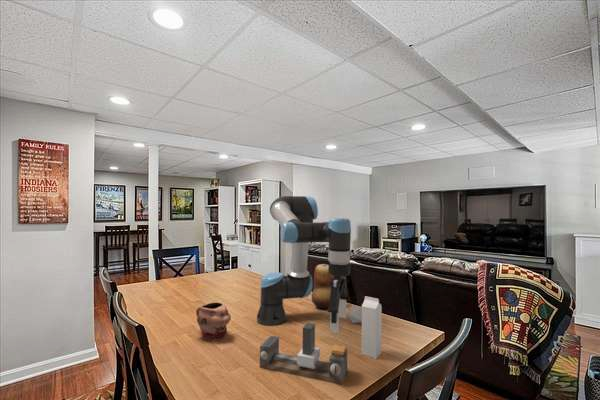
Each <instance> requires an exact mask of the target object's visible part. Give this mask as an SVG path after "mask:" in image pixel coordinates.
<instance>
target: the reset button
mask: <svg viewBox="0 0 600 400" xmlns="http://www.w3.org/2000/svg"><path fill="white" fill-rule="evenodd" d="M345 350H346V346H345V345H338V344H333V347H332V349H331V354H332V353H334V355H336V356H342V357H343V355H344V352H345Z"/></svg>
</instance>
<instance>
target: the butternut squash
mask: <svg viewBox="0 0 600 400" xmlns="http://www.w3.org/2000/svg"><path fill="white" fill-rule="evenodd" d="M314 269H315V270H314V274H313V289H312V291H311V294H310V295H311V296H310V297H311V301H312V304H313V305H314V306H315V307H316V308H319V309H328V308H329V303H330V294H331V281H332V280H334V275H331V274H329V272H328V264H325V263H322V264H317V265H316V266H315V268H314Z"/></svg>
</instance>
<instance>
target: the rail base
mask: <svg viewBox="0 0 600 400" xmlns="http://www.w3.org/2000/svg"><path fill="white" fill-rule="evenodd" d="M279 345H280V337H279V336H274V335H269V337H268V338H267V339H265V340H264V342H262V344H261V345H259V368H262V369H267V370H272V371H277V372H282V373H286V374H290V375H291V374H292V375H296V376H300V377H305V378H310V379H315V380H319V381H325V382H328V383H332V384H333V383H334V384H338V383H339V384H338V385H342V384H344V382H345V379H346V376H347V372H348V348H346V350H345V352H344V355H343V357H342V356H336V355H334V353H332V352H331V354H330V357H328V358H329V360H328V361H329V362H328V361H324V360H319V361H317V362H316V368H315V369H311V368H306V367H301V366H298V364H297V355H292V354H288V353H287V354H286V353H280V347H279Z"/></svg>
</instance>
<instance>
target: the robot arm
mask: <svg viewBox="0 0 600 400" xmlns="http://www.w3.org/2000/svg"><path fill="white" fill-rule="evenodd" d="M318 210H319V207H318V204H317V201H316V200H315V198H314V197H311V196H306V195H305V196H302V195H301V196H300V195H298V196H297V195H296V196H295V195H294V196H293V195H292V196H291V195H285V196H284V195H283V196H280V197H278V198H276V199H275V200H273V201H272V202H271V205H270V206H269V214H270V215H271V217H272V219H274V220H275V221H276V222H278V224H279V226H280V237H281V239H280V240H281V242H283V243H287V244H288V243H289V244H291V257H290V258H291V260H290V269H289V270H287V275H284V273H282V272H272V273H267V274H264V275H263V276H262V277H261V280H260V303H259V304H260V305H259V307H258V308H259V309H258V311H257V314H256V322H257V323H258V324H260V325H262V326H279V325H282V324H284V323H285V322H286V321H287V314H286V311H285V307H284V300H286V299H289V300H290V299H303V298H308V297H309V296H310V295H312V292H313V287H314V282H313V277H312V275H311V274H310V271H308V259H309V258H308V257H309V243H327V244H328V264H327V265H328V272H329V274H331V275H334V280H332V281H331V294H330V303H329V307H328V308H327V312H328V313H330V314H329V332H330V333H333V334H334V333H335V334H339V333H340V332H339V331H340V330H339V328H340V326H339V325H340V318H341V319H346V318H347V300H349V296H348V287H347V276H350V275H351V264H350V261H351V257H352V256H353V254H352V253H351V234H352V228H351V226H352V225H351V220H350V218H346V217H345V218H343V217H342V218H341V217H340V218H339V217H332V218H330V219H329V221H323V222H314V220H316V219H317V218H318V216H319V212H318Z"/></svg>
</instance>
